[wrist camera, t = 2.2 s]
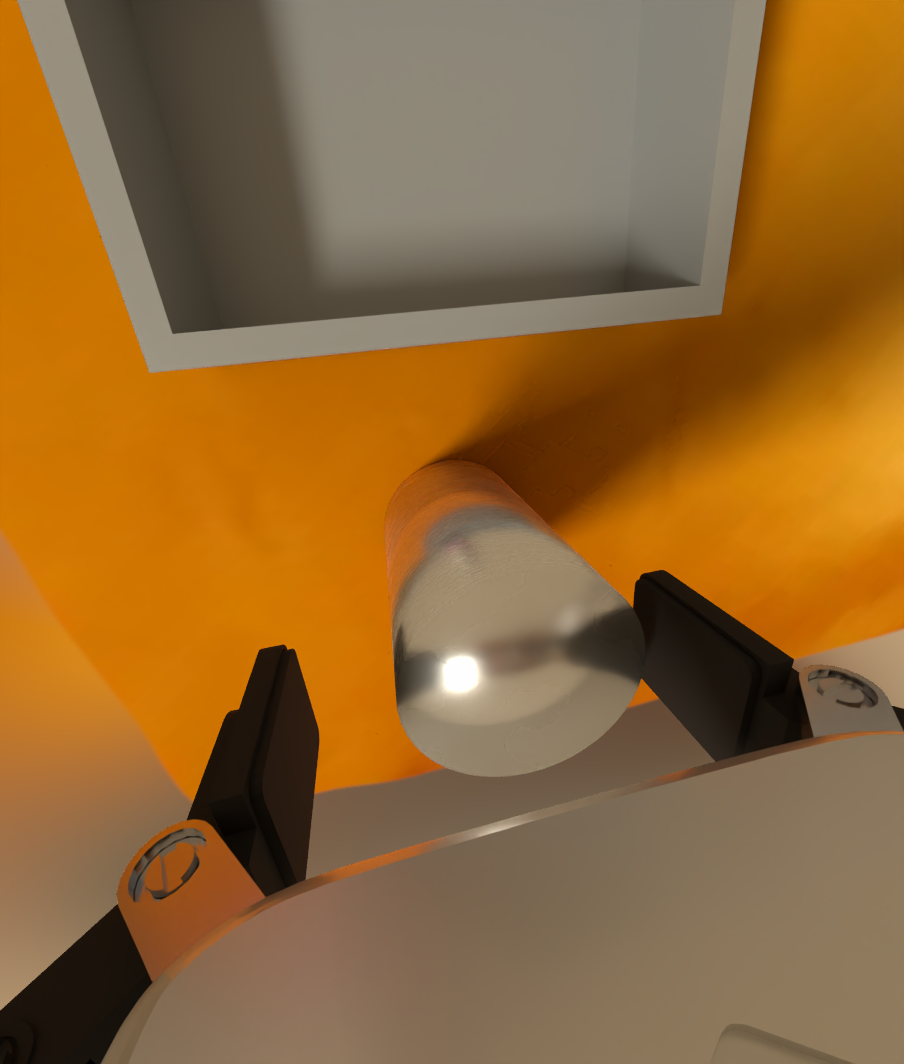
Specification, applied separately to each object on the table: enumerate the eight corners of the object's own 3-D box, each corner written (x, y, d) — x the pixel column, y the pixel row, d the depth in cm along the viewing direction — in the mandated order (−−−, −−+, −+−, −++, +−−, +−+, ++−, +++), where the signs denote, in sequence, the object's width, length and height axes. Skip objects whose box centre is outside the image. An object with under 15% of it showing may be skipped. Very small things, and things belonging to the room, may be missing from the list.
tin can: (514, 451, 18) (657, 548, 9) (519, 573, 21) (635, 748, 11) (373, 470, 17) (375, 597, 8) (395, 594, 20) (414, 798, 11)
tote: (654, -94, 12) (816, -350, 8) (627, 325, 17) (721, 314, 12) (77, -108, 11) (-143, -452, 6) (216, 366, 15) (149, 372, 11)
